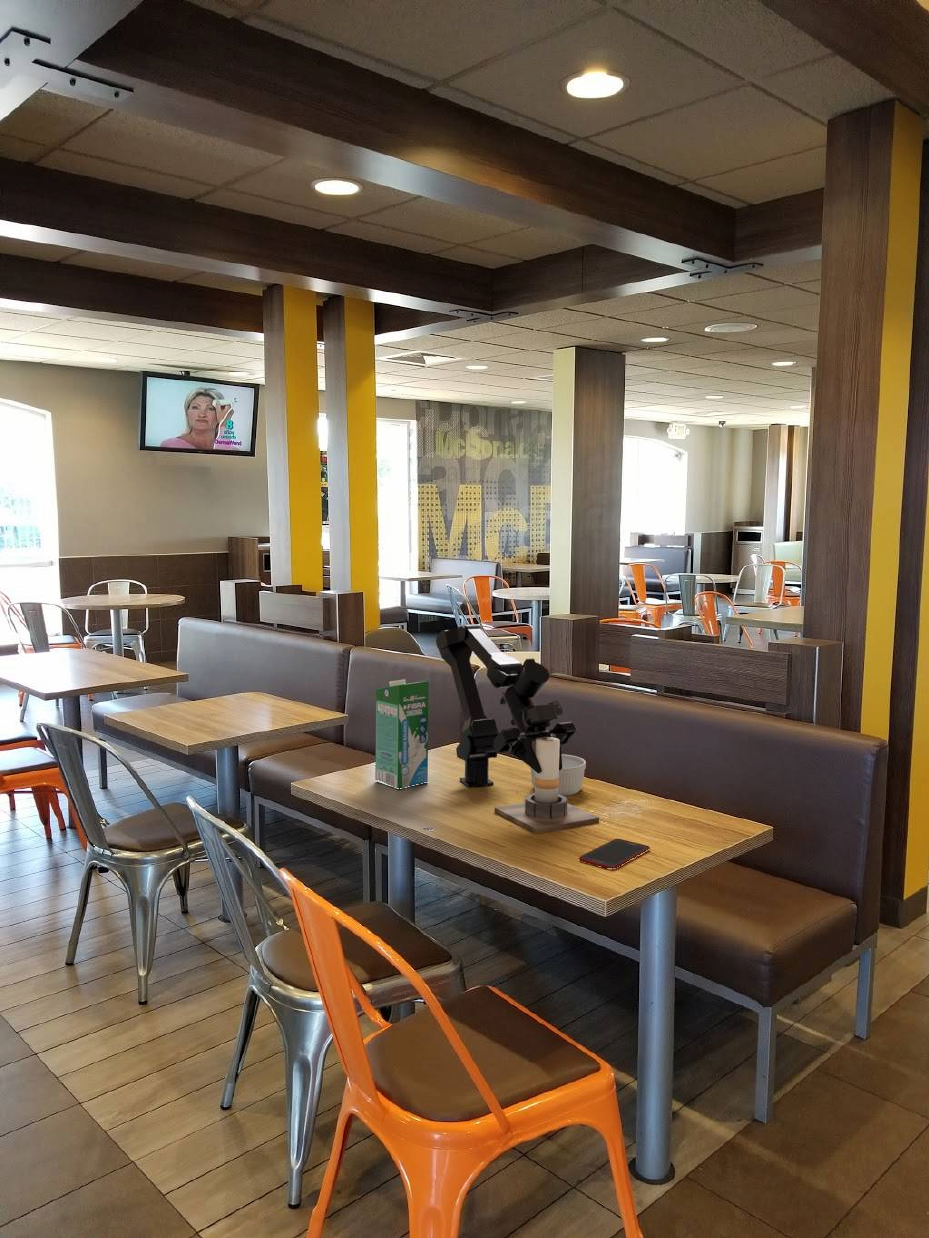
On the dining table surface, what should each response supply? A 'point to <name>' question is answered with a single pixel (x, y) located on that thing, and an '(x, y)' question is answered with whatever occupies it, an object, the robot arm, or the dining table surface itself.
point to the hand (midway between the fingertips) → (550, 770)
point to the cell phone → (614, 853)
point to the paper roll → (547, 770)
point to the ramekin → (568, 775)
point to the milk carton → (402, 733)
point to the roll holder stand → (546, 815)
